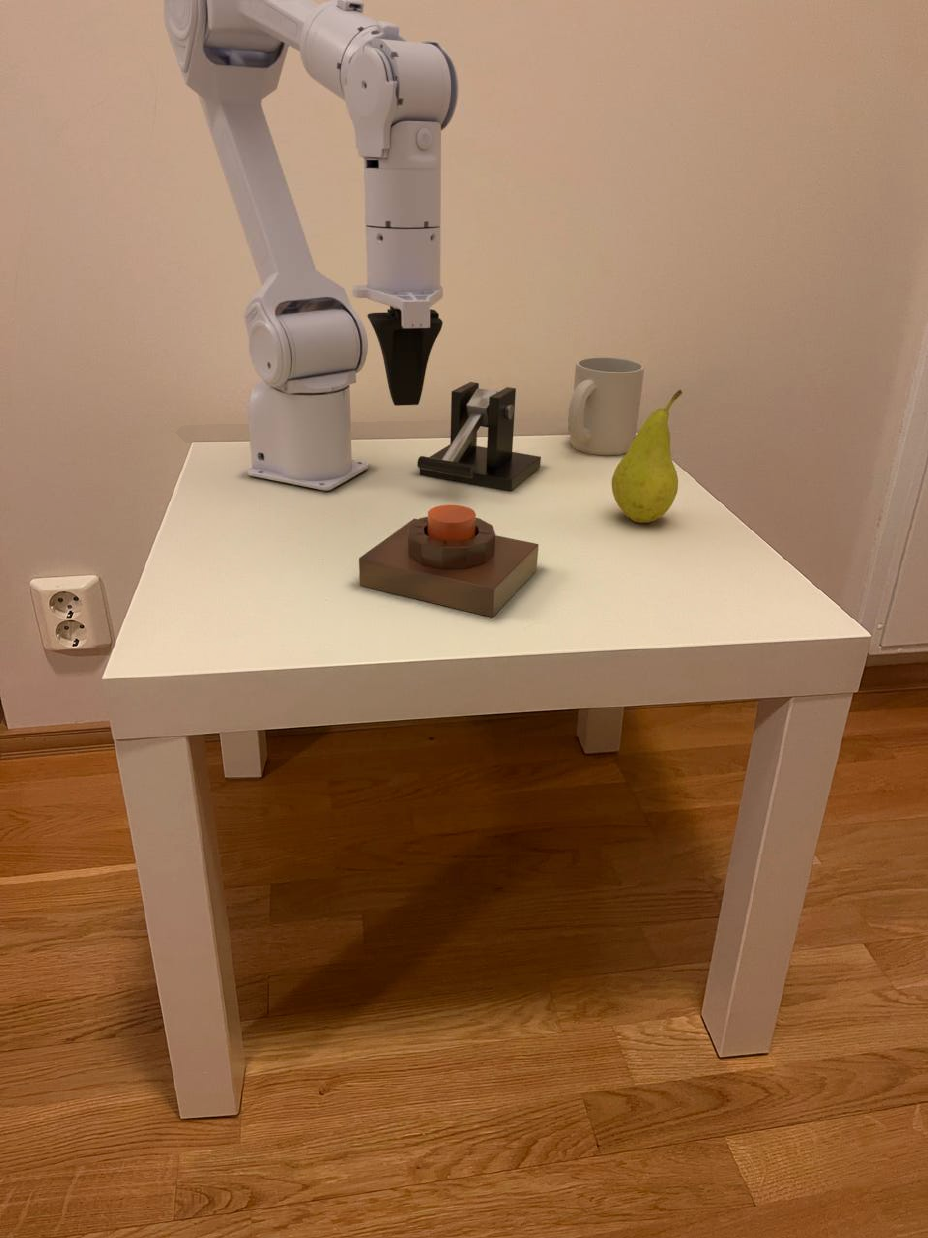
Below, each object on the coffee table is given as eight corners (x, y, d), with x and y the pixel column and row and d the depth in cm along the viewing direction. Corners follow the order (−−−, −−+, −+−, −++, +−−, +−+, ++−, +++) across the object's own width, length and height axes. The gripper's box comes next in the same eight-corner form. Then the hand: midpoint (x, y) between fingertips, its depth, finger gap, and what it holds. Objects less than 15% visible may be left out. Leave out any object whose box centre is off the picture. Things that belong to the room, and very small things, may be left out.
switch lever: (472, 485, 84) (468, 465, 82) (419, 475, 86) (415, 456, 84) (515, 412, 90) (513, 392, 88) (465, 405, 92) (461, 385, 90)
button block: (359, 585, 69) (357, 536, 67) (414, 543, 76) (414, 498, 74) (492, 618, 65) (495, 567, 63) (537, 570, 72) (540, 523, 70)
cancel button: (419, 538, 68) (419, 516, 67) (440, 522, 71) (440, 501, 70) (462, 547, 67) (463, 525, 66) (482, 530, 69) (483, 509, 69)
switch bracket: (511, 491, 88) (516, 406, 84) (419, 474, 91) (419, 391, 87) (540, 467, 94) (546, 387, 90) (453, 452, 98) (455, 374, 94)
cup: (646, 446, 101) (657, 365, 97) (596, 466, 95) (604, 380, 90) (593, 432, 106) (600, 354, 101) (541, 450, 99) (546, 368, 95)
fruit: (598, 509, 84) (612, 379, 78) (657, 506, 85) (675, 377, 79) (621, 534, 79) (638, 396, 73) (683, 529, 80) (704, 394, 75)
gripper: (344, 218, 75) (351, 384, 81) (358, 234, 62) (365, 428, 69) (428, 218, 76) (428, 382, 82) (459, 234, 63) (456, 425, 70)
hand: (405, 403), depth 76 cm, fingers closed
